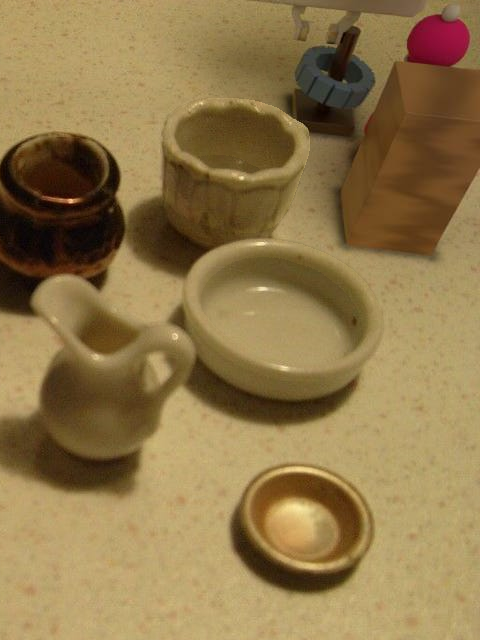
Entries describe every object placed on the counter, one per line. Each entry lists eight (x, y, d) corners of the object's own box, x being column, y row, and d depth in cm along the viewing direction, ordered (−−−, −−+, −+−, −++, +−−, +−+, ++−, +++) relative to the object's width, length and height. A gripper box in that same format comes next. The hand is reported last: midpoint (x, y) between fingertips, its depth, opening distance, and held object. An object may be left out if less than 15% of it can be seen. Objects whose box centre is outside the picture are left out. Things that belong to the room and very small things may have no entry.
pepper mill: (350, 141, 105) (413, -16, 90) (410, 148, 105) (485, -10, 89) (355, 178, 101) (422, 19, 85) (418, 186, 100) (498, 27, 85)
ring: (360, 73, 108) (370, 55, 106) (369, 115, 102) (380, 98, 101) (291, 56, 108) (300, 38, 106) (297, 98, 102) (306, 80, 100)
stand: (346, 104, 110) (380, 17, 101) (351, 137, 106) (386, 49, 97) (291, 98, 111) (319, 10, 102) (293, 130, 107) (322, 42, 97)
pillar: (420, 202, 98) (488, 70, 85) (430, 256, 93) (504, 124, 80) (340, 192, 99) (394, 60, 86) (345, 245, 94) (405, 112, 80)
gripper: (452, -85, 91) (403, 35, 102) (257, -103, 93) (229, 17, 104) (461, -58, 87) (409, 64, 98) (257, -77, 89) (228, 44, 100)
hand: (315, 40), depth 101 cm, fingers closed
